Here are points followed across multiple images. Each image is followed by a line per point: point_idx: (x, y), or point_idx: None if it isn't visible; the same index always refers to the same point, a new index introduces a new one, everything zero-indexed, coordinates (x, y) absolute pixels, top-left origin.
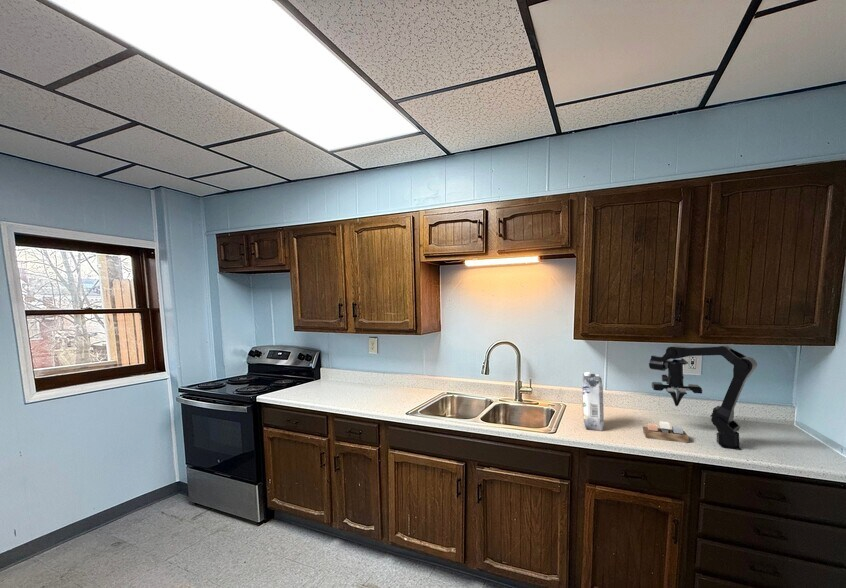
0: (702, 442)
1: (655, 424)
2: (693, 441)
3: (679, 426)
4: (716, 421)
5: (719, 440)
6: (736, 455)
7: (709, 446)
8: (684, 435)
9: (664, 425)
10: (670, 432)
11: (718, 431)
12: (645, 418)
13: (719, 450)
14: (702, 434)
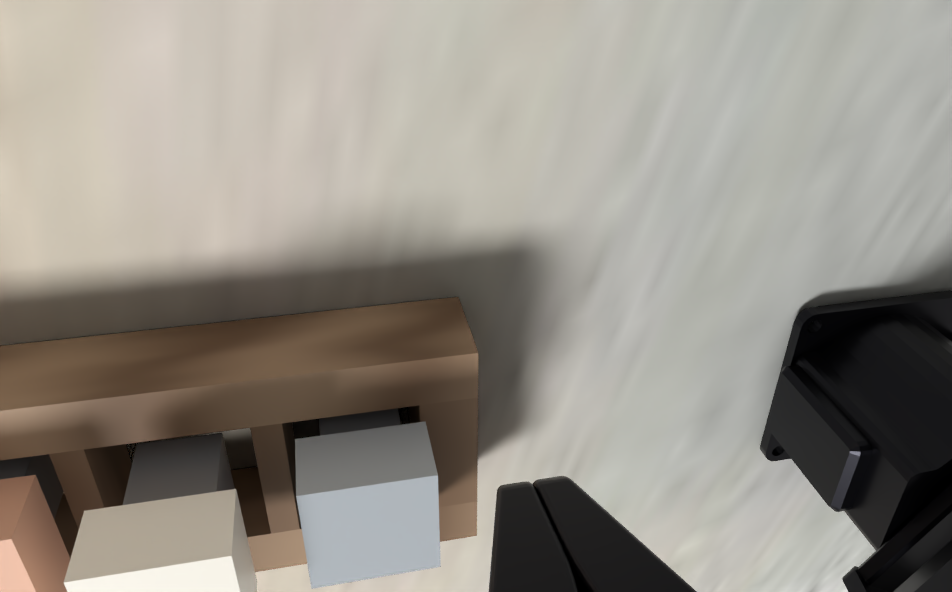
0: (623, 387)
1: (7, 562)
2: (529, 401)
3: (415, 479)
4: None
5: (794, 460)
6: (781, 552)
7: (648, 465)
8: None
9: None
10: (264, 496)
11: (848, 582)
12: None
13: (695, 516)
14: (763, 68)
